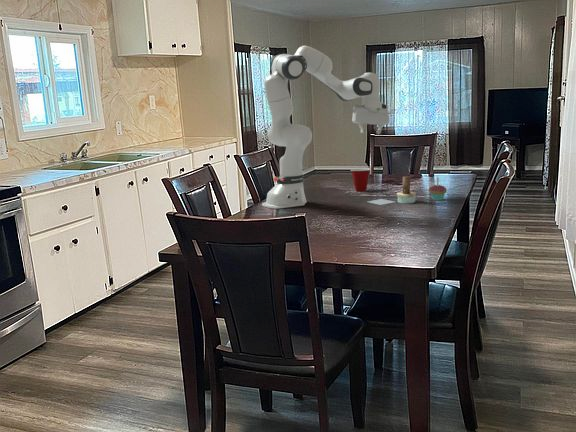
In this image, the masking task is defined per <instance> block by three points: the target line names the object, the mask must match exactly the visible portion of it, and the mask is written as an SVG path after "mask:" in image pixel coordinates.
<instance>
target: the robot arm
mask: <svg viewBox="0 0 576 432" xmlns="http://www.w3.org/2000/svg"><path fill="white" fill-rule="evenodd" d="M269 67H270V68H269V69H270V70H269V74H270V75H268V76H266V77H265V79H264V81H263V82H264V83H263V84H264V85H263V86H264V92H265V97H266V101H267V104H268V109H269V111H270V115H271V124H270V127H269V128H268V130H267V139H268V142H269V143H270V144H272V145H275V146H277V147H285V152H284V155H282V156H281V157H280V158H279V162H278V163H279V176H273V181H276V182H277V183H276V184H275V185H274V186H273V187H272V188H271V189H270V190H269V191H268V192H267V194H266V200H265V202H262V203H261V205H262V206H263V207H264V208H268V209H275V210H278V209H285V208H293V207H294V208H295V207H301V206H305V204H306V203H307V202H308V201H307V199H306V194H305V191H304V190H305V189H304V174H303V157H304V153H305V151H306V148H307V147H308V146H309V145H310V144H311V142H312V140H313V132H312V130H311V129H310V127H309V126H307V125H303V124H297V123H296V124H295V123H291V119H290V118H291V115H293V113H294V106H293V102H292V101H293V100H292V98H291V93H290V91H289V89H288V88H289V87H288V86H289V85H288V84H289V80H292V81H294V80H297V79H299V78H300V77H301V76H303V74H304V72H305V71H306V72H307V73H308V74H311V75H312V76H314V77H315V78H316V80H317V81H319V82H320V83H321V84H323V85H324V86H326V87H327V88H329V89H330V90H331V91H332V92H334V93H335V95H336V96H337V97H338V99H340V100H341V101H342V102H349V101H352V100H354V99H358V98H361V104H355V105H353V106H352V116H351V117H352V119H351V121H352V124H357V125H358V128H359V129H360V134H364V133H366V129H365V128H364V125H375V126H376V125H377V127H378V129H377V130H376V133H375V134H376V135H379V134H381V131H382V129H383V126H387V125H389V123H390V113H389V110H388V109H389V105H388V104H385V103H384V102H382V101H380V100H381V99H380V92H381V87H380V86H381V85H380V84H381V83H380V78H379V75H378V74H376V73H375V72H365V73H363V74H362V75H360V76H358V77H353V78H351V79H348V80H341V79H339V78H338V77H336V76H335V75H334V74H332V71H333V62H332V59H331V58H330V57H329V56H328V55H326V54H325V53H323V52H322V51H320V50H318V49H315V48H314V47H312V46H308V45H304V44H303V45H301V46H299V47H298V48H297V50H296V51H295V53H294V54H293V55H292V54H290V53H289V54H288V53H278V54H276V55H274V56H273V57H272V59H271V60H270V66H269Z"/></svg>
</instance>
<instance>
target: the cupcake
mask: <svg viewBox="0 0 576 432" xmlns="http://www.w3.org/2000/svg"><path fill="white" fill-rule="evenodd" d="M439 183H440V182H439V176H437V177H436V184H435V185H432V186H430V187H428V193H430V195H431V199H432V200H433V201H444V197H445V194H446V193H447V192H448V191H447V190H448V189H447V188H446V187H445V186H443V185H441V184H439Z"/></svg>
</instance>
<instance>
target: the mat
mask: <svg viewBox="0 0 576 432" xmlns="http://www.w3.org/2000/svg"><path fill="white" fill-rule="evenodd" d="M367 203H370V204H375V205H379V206H383V205H387V204H392V203H396V201H394V200H389V199H384V198H378V199H374V200H369V201H367Z"/></svg>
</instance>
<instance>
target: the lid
mask: <svg viewBox="0 0 576 432" xmlns="http://www.w3.org/2000/svg"><path fill="white" fill-rule="evenodd" d="M396 196H397V197H398V196H400V197H413V196H415V197H416V196H417V194H416V192H413V191H411V176H402V191H399V192H396Z"/></svg>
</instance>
